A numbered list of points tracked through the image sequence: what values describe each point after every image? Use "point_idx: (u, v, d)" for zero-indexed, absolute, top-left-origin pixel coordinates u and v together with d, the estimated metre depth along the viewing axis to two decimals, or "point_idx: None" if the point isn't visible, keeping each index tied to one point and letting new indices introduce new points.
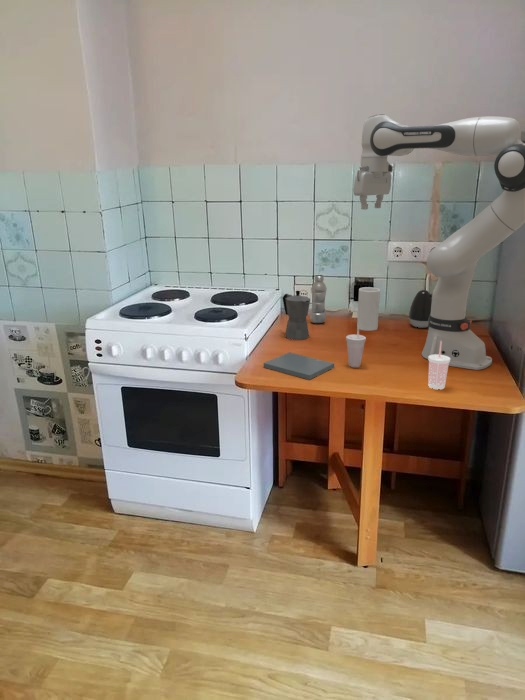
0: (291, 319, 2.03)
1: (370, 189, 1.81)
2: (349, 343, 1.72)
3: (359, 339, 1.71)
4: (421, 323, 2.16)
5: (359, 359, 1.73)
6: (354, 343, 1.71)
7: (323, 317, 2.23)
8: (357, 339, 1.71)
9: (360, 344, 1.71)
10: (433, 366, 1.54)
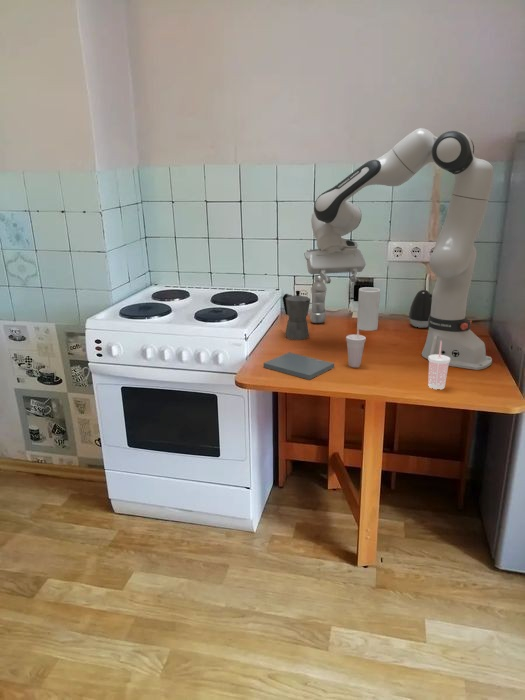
0: (291, 319, 2.03)
1: (325, 263, 1.81)
2: (349, 343, 1.72)
3: (359, 339, 1.71)
4: (421, 323, 2.16)
5: (359, 359, 1.73)
6: (354, 343, 1.71)
7: (323, 317, 2.23)
8: (357, 339, 1.71)
9: (360, 344, 1.71)
10: (433, 366, 1.54)
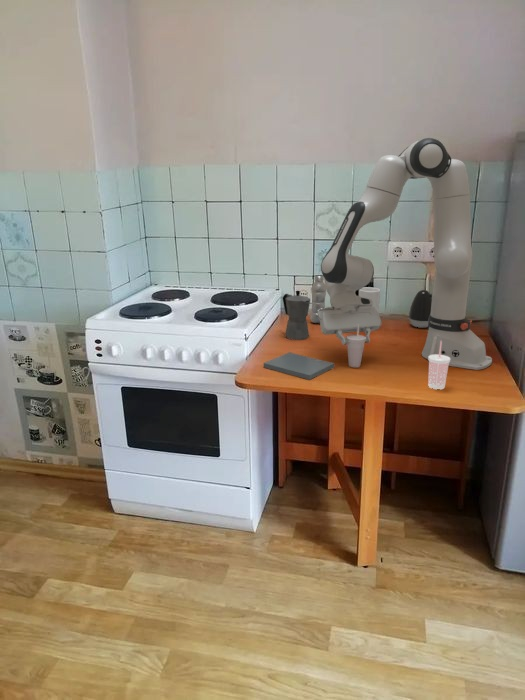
0: (291, 319, 2.03)
1: (339, 323, 1.73)
2: (349, 343, 1.72)
3: (359, 339, 1.71)
4: (421, 323, 2.16)
5: (359, 359, 1.73)
6: (354, 343, 1.71)
7: None
8: (357, 339, 1.71)
9: (360, 344, 1.71)
10: (433, 366, 1.54)
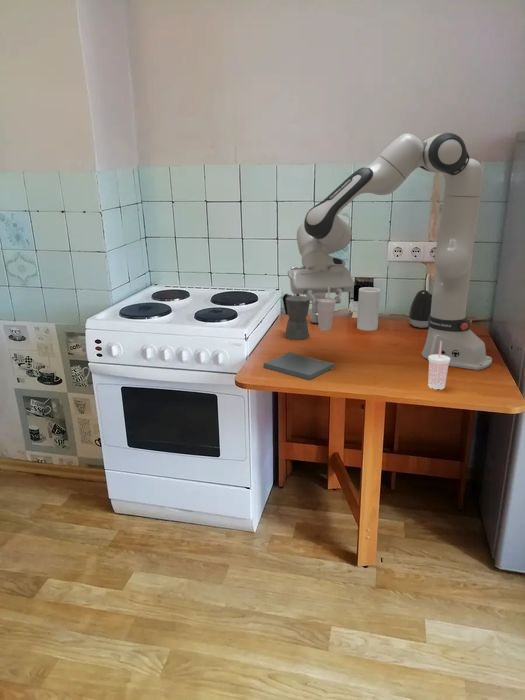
0: (291, 319, 2.03)
1: (310, 282, 1.68)
2: (319, 305, 1.67)
3: (329, 301, 1.66)
4: (421, 323, 2.16)
5: (329, 322, 1.69)
6: (324, 305, 1.66)
7: None
8: (327, 301, 1.66)
9: (330, 306, 1.66)
10: (433, 366, 1.54)
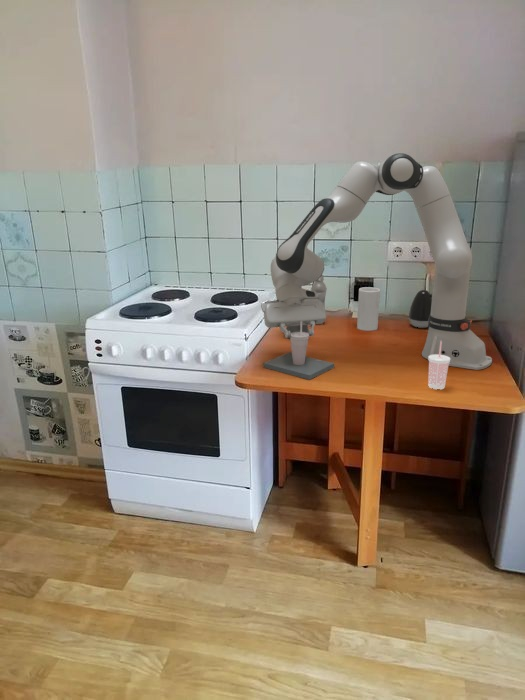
0: None
1: (283, 316, 1.70)
2: (292, 340, 1.70)
3: (302, 336, 1.68)
4: (421, 323, 2.16)
5: (303, 356, 1.71)
6: (297, 340, 1.68)
7: None
8: (300, 336, 1.69)
9: (303, 341, 1.69)
10: (433, 366, 1.54)
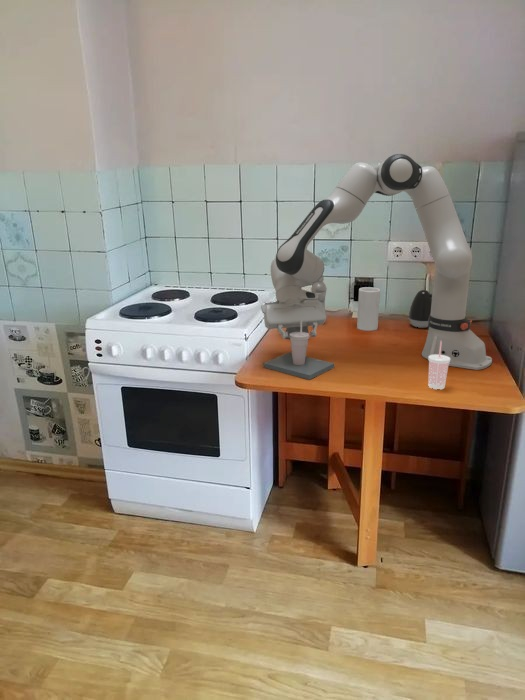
0: None
1: (283, 317, 1.70)
2: (292, 340, 1.70)
3: (302, 336, 1.69)
4: (421, 323, 2.16)
5: (303, 356, 1.71)
6: (297, 340, 1.68)
7: None
8: (300, 336, 1.69)
9: (303, 341, 1.69)
10: (433, 366, 1.54)
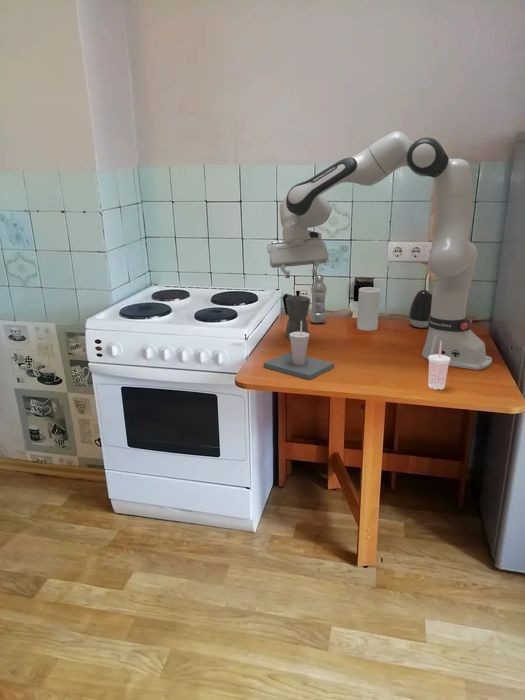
0: (291, 319, 2.03)
1: (286, 257, 1.84)
2: (292, 340, 1.70)
3: (302, 336, 1.69)
4: (421, 323, 2.16)
5: (303, 356, 1.71)
6: (297, 340, 1.68)
7: (323, 317, 2.23)
8: (300, 336, 1.69)
9: (303, 341, 1.69)
10: (433, 366, 1.54)
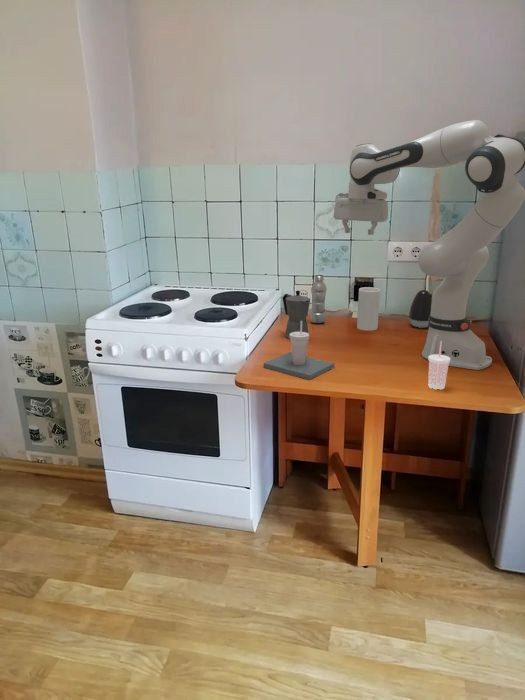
0: (291, 319, 2.03)
1: (346, 214, 1.93)
2: (292, 340, 1.70)
3: (302, 336, 1.69)
4: (421, 323, 2.16)
5: (303, 356, 1.71)
6: (297, 340, 1.68)
7: (323, 317, 2.23)
8: (300, 336, 1.69)
9: (303, 341, 1.69)
10: (433, 366, 1.54)
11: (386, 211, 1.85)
